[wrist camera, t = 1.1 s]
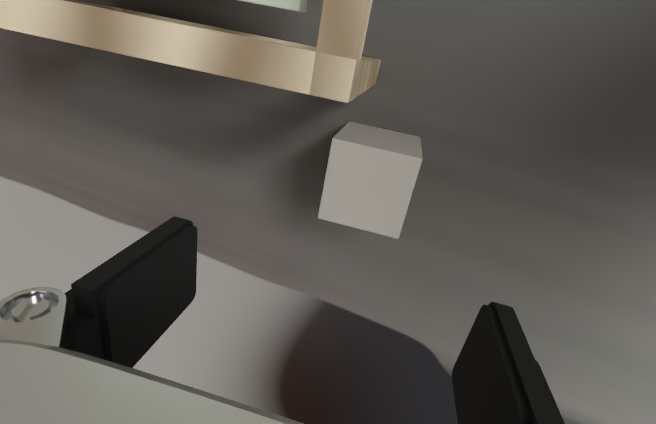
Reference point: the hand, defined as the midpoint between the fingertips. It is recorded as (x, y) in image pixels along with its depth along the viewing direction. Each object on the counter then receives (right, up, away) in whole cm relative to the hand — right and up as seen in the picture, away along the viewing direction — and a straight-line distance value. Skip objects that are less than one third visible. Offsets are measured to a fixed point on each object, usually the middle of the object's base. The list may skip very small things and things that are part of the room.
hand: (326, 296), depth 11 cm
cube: (+4, +6, +14) cm, 16 cm away
